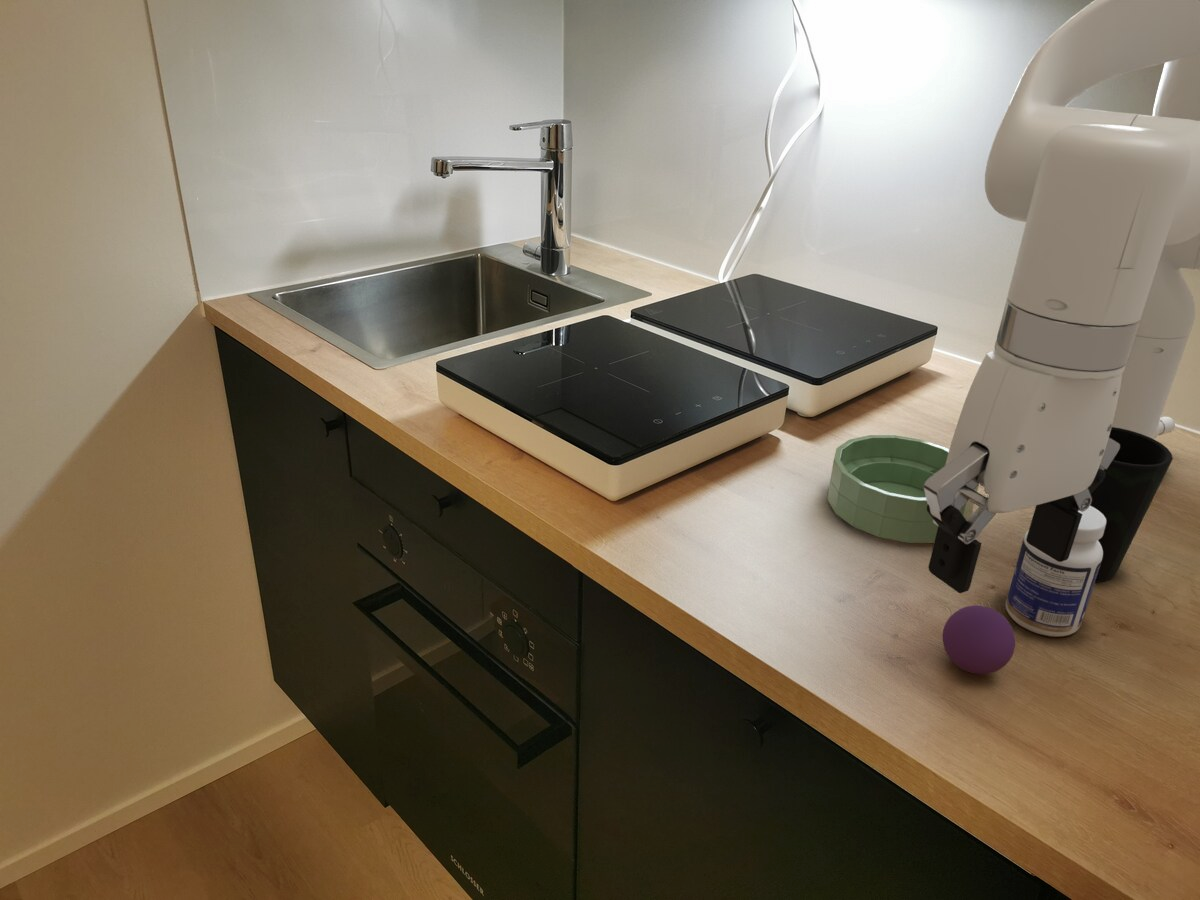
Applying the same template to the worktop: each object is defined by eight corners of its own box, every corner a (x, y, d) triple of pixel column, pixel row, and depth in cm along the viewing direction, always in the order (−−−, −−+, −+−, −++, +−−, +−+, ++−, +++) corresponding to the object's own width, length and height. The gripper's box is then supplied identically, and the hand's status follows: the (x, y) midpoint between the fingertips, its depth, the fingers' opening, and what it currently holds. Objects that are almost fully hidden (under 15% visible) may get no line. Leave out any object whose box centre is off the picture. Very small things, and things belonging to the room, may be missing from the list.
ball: (969, 637, 72) (984, 585, 69) (1021, 677, 68) (1038, 623, 65) (922, 654, 70) (935, 601, 67) (972, 696, 66) (988, 641, 63)
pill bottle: (1031, 589, 78) (1062, 487, 73) (1094, 625, 74) (1130, 520, 69) (989, 609, 75) (1018, 505, 70) (1051, 648, 71) (1087, 540, 66)
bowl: (899, 468, 97) (908, 426, 95) (997, 529, 86) (1009, 483, 84) (800, 492, 91) (806, 448, 89) (891, 560, 81) (901, 512, 79)
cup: (1141, 595, 78) (1187, 471, 72) (1046, 582, 79) (1084, 459, 73) (1114, 547, 84) (1154, 430, 79) (1027, 535, 86) (1061, 420, 80)
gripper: (1102, 305, 63) (1038, 517, 71) (916, 332, 56) (867, 565, 63) (1208, 339, 57) (1126, 567, 65) (1014, 375, 50) (948, 626, 58)
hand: (998, 566), depth 64 cm, fingers open, 9 cm apart
